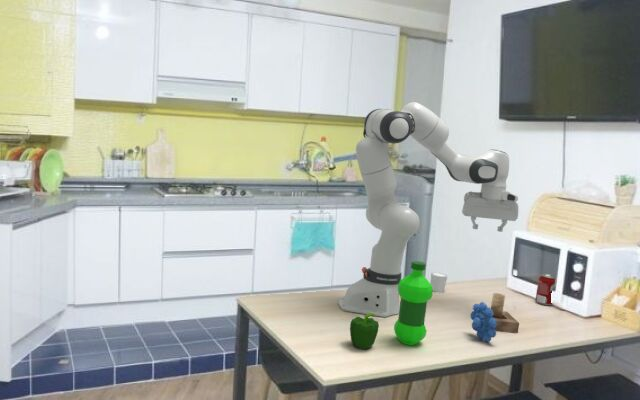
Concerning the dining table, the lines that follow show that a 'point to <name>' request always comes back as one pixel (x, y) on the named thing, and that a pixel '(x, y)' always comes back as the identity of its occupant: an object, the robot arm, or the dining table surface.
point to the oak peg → (497, 305)
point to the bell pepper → (363, 331)
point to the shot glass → (438, 282)
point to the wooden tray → (507, 323)
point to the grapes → (483, 321)
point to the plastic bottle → (413, 305)
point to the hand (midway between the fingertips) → (487, 230)
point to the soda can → (545, 289)
